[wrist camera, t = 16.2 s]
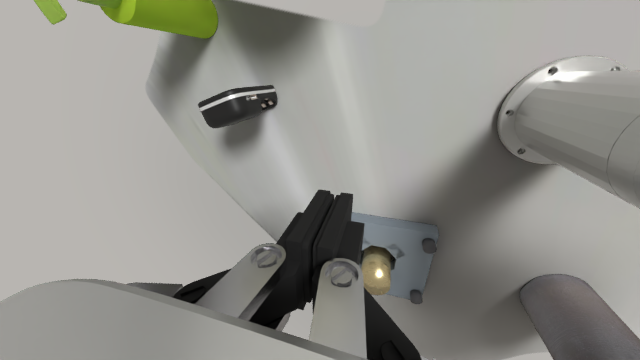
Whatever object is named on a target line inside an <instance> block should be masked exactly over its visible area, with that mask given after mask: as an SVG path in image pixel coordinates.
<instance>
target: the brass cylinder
mask: <svg viewBox="0 0 640 360" xmlns="http://www.w3.org/2000/svg"><path fill="white" fill-rule="evenodd" d="M361 270H362V273H363V281H364V287H365V289H366V290H367V291H368V292H369V293H370V294H373V295H383V294H385V293H387V292H388V291H389V290H390V277H391V253H390V252H389V251H388V250H387V249H386V248H384V247H378V246H373V245H371V246H369V247H367V248H365V249H364V255H363V261H362V267H361Z"/></svg>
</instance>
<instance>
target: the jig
mask: <svg viewBox="0 0 640 360" xmlns="http://www.w3.org/2000/svg"><path fill="white" fill-rule="evenodd" d="M351 221H355V222H361V223H365V226H364V236H363V245H362V250H364V249H365V248H367V247H369V246H371V245H373V246H378V247H384V248H386V249H387V250H388V251H389V252H390V253H391V254H392V255H393V256H394V257H395V258H394V260H392V261H391V277H390V290H389V291H388V292H387V293H385V294H388V295H392V296H397V297H401V298H405V299H409V300H411V302H412V303H414V304H420V303H422V295H423V291H424V287H425V284H426V280H427V277H428V273H429V269H430V266H431V262H432V258H433V255H434V253H435V252H436V250H437V248H436V244H437V240H438V236H439V233H438V229H437V226H436V225H430V224H423V223H417V222H411V221H404V220H398V219H392V218H385V217H379V216H372V215H366V214H360V213H353V212H352V217H351ZM362 261H363V255H362V254H361V257H360V263H359V267H360V268H361V267H362Z"/></svg>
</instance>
